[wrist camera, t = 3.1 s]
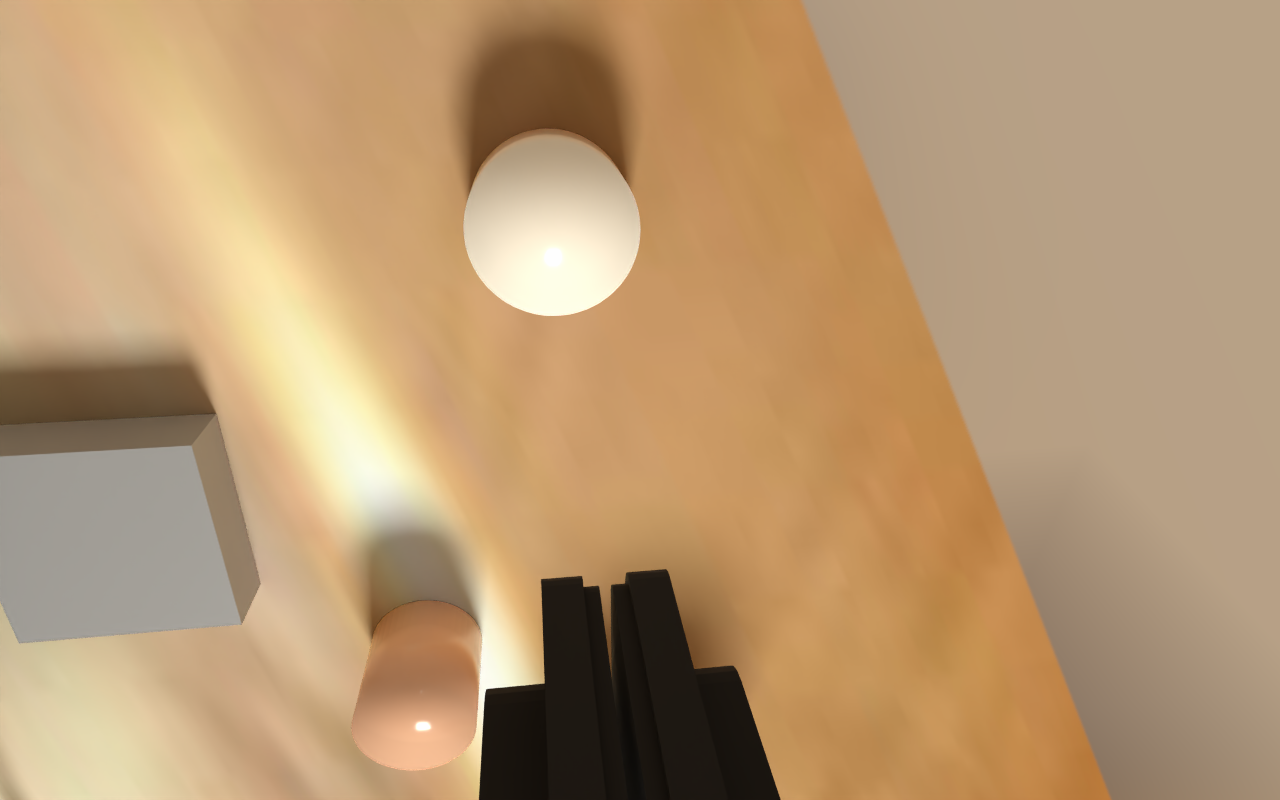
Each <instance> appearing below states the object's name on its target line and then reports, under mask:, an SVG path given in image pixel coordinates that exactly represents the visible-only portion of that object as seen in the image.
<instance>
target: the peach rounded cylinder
mask: <svg viewBox="0 0 1280 800" xmlns="http://www.w3.org/2000/svg"><path fill="white" fill-rule="evenodd" d="M481 651H482V635H481V631H480V629H479V626H478V625H477V623H476V622H475V620H474V619H473V618H472V617H471V616H470V615H469V614H468V613H467V612H465V611H464V610H462V609H460V608H459V607H457V606H454V605H452V604H449V603H445V602H440V601H432V600H423V601H415V602H410V603H407V604H404V605H401V606H399V607H397V608H395V609H393V610H392V611H390V612H389V613H387V614H386V615H385V616H384V617H383V618H382V619H381V620H380V622H379V623H378V625H377V626H376V629H375V631H374V634H373V638H372V643H371V647H370V651H369V655H368V659H367V663H366V667H365V671H364V675H363V679H362V683H361V687H360V691H359V695H358V699H357V703H356V708H355V712H354V716H353V720H352V727H351V729H352V735H353V739H354V741H355V743H356V745H357V746H358V748H359V749H360V750H361V751H362V752H363V753H364V754H365V755H366V756H367V757H369V758H370V759H372V760H373V761H375V762H377V763H379V764H382V765H384V766H387V767H390V768H395V769H401V770H424V769H430V768H434V767H438V766H441V765H443V764H446V763H448V762H450V761H452V760H454V759H455V758H457V757H458V756H459V755H461V754H462V753H463V752H464V751H465V750H466V749H467V748H468V747H469V745H470V744H471V742H472V740H473V738H474V736H475V733H476V725H477V710H478V695H479V681H480V666H481Z"/></svg>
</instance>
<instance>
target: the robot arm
mask: <svg viewBox="0 0 1280 800" xmlns="http://www.w3.org/2000/svg"><path fill="white" fill-rule="evenodd" d="M541 586H542V615H543V645H544V674H545V684H535V685H525V686H515V687H504V688H494V689H486V693H485V702H484V719H483V737H482V755H481V773H480V791H479V800H780V797H779V794H778V791H777V788H776V785H775V782H774V779H773V776H772V773H771V770H770V766H769V763H768V760H767V757H766V754H765V751H764V748H763V745H762V742H761V739H760V736H759V733H758V730H757V727H756V724H755V721H754V718H753V715H752V712H751V709H750V706H749V703H748V700H747V697H746V694H745V691H744V688H743V685H742V682H741V679H740V677H739V674H738V672H737V670H736V669H735V667H734V666H722V667H712V668H702V669H694V667H693V663H692V660H691V656H690V652H689V648H688V644H687V641H686V637H685V633H684V629H683V626H682V622H681V618H680V614H679V610H678V607H677V603H676V599H675V595H674V591H673V588H672V584H671V580H670V576H669V573H668V571H667V570H666V569H665V570H652V571H640V572H627V573H626V578H625V584H616V585H611V652H612V678H611V671H610V663H609V656H608V648H607V641H606V634H605V626H604V619H603V612H602V604H601V597H600V590H599V586H591V587H583V579H582V576H577V577H564V578H552V579H541Z"/></svg>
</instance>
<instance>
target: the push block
mask: <svg viewBox="0 0 1280 800" xmlns="http://www.w3.org/2000/svg"><path fill="white" fill-rule="evenodd" d="M260 584H261V583H260V580H259V576H258V572H257V568H256V564H255V560H254V556H253V553H252V549H251V545H250V541H249V537H248V533H247V529H246V526H245V522H244V518H243V514H242V510H241V506H240V502H239V499H238V495H237V491H236V487H235V483H234V479H233V476H232V472H231V468H230V464H229V460H228V456H227V452H226V449H225V445H224V441H223V437H222V433H221V429H220V425H219V422H218V418H217V414H198V415H179V416H160V417H141V418H122V419H103V420H84V421H65V422H46V423H27V424H8V425H0V602H1V604H2V606H3V609H4V611H5V613H6V615H7V618H8V620H9V622H10V624H11V627H12V629H13V631H14V633H15V636H16V638H17V640H18V642H19V643H29V642H41V641H53V640H65V639H77V638H88V637H100V636H112V635H124V634H135V633H147V632H159V631H171V630H183V629H194V628H206V627H218V626H230V625H242V623H243V620H244V618H245V616H246V614H247V612H248V610H249V608H250V605H251V603H252V601H253V599H254V597H255V595H256V593H257V590H258V588H259V586H260Z"/></svg>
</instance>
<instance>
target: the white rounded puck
mask: <svg viewBox="0 0 1280 800" xmlns="http://www.w3.org/2000/svg"><path fill="white" fill-rule="evenodd" d="M463 224H464V239H465V245H466V249H467V253H468V256H469V259H470V261H471V263H472V265H473V268H474V269H475V271H476V273H477V274H478V276H479V277H480V279H481V280H482V281H483V282H484V284H485V285H486V286H487V287H488V288H489V289H490V290H491V291H492V292H493V293H494V294H495V295H496V296H498V297H499V298H500V299H502V300H503V301H505V302H506V303H508V304H510V305H512V306H513V307H516V308H518V309H521V310H523V311H526V312H530V313H533V314H539V315H545V316H560V315H569V314H573V313H577V312H581V311H583V310H586V309H589V308H591V307H593V306H595V305H597V304H599V303H600V302H601V301H603V300H604V299H606V298H607V297H608V296H610V295H611V294H612V293H613V292H614V291H615V290H616V289H617V288H618V287H619V286H620V285H621V283H622V282H623V281H624V279H625V278H626V276H627V275H628V273H629V272H630V270H631V268H632V266H633V264H634V261H635V258H636V255H637V252H638V247H639V242H640V218H639V212H638V207H637V204H636V201H635V198H634V196H633V194H632V192H631V190H630V188H629V186H628V184H627V183H626V181H625V179H624V178H623V176H622V175H621V173H620V172H619V170H618V168H617V167H616V165H615V164H614V162H613V161H612V160H611V159H610V157H609V156H608V155H607V154H606V153H605V152H604V151H603V150H602V149H601V148H600V147H599V146H597V145H596V144H594V143H593V142H592V141H590V140H589V139H587V138H585V137H583V136H581V135H579V134H576V133H573V132H570V131H566V130H561V129H551V128H544V129H534V130H530V131H525V132H523V133H520V134H517V135H515V136H513V137H511V138H509V139H507V140H505V141H504V142H503V143H501V144H500V145H499V146H497V147H496V148H495V149H494V150H493V151H492V152H491V153H490V154H489V155H488V157H487V158H486V159H485V160H484V162H483V163H482V165H481V167H480V168H479V170H478V172H477V174H476V177H475V179H474V182H473V185H472V188H471V191H470V194H469V197H468V201H467V205H466V209H465V214H464V223H463Z"/></svg>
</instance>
